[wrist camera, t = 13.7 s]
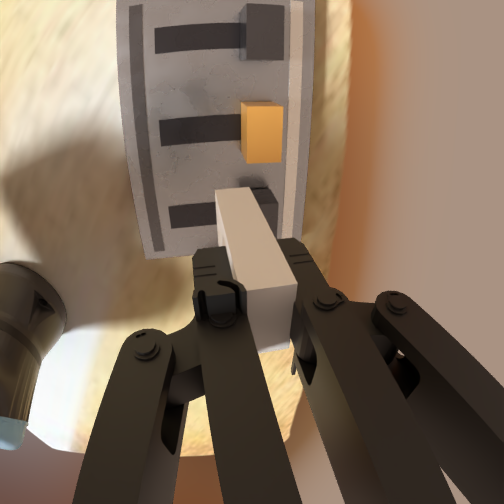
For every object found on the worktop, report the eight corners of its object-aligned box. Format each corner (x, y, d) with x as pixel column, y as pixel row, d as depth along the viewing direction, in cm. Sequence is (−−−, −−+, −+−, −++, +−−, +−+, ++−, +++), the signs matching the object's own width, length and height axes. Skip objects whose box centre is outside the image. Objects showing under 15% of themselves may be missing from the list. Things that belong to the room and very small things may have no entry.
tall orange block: (241, 152, 28) (246, 163, 25) (240, 101, 25) (246, 106, 22) (271, 151, 29) (281, 162, 26) (273, 101, 26) (283, 106, 23)
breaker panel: (147, 249, 35) (142, 281, 30) (121, 3, 19) (105, -9, 14) (295, 236, 38) (310, 264, 33) (307, -2, 22) (331, -13, 17)
